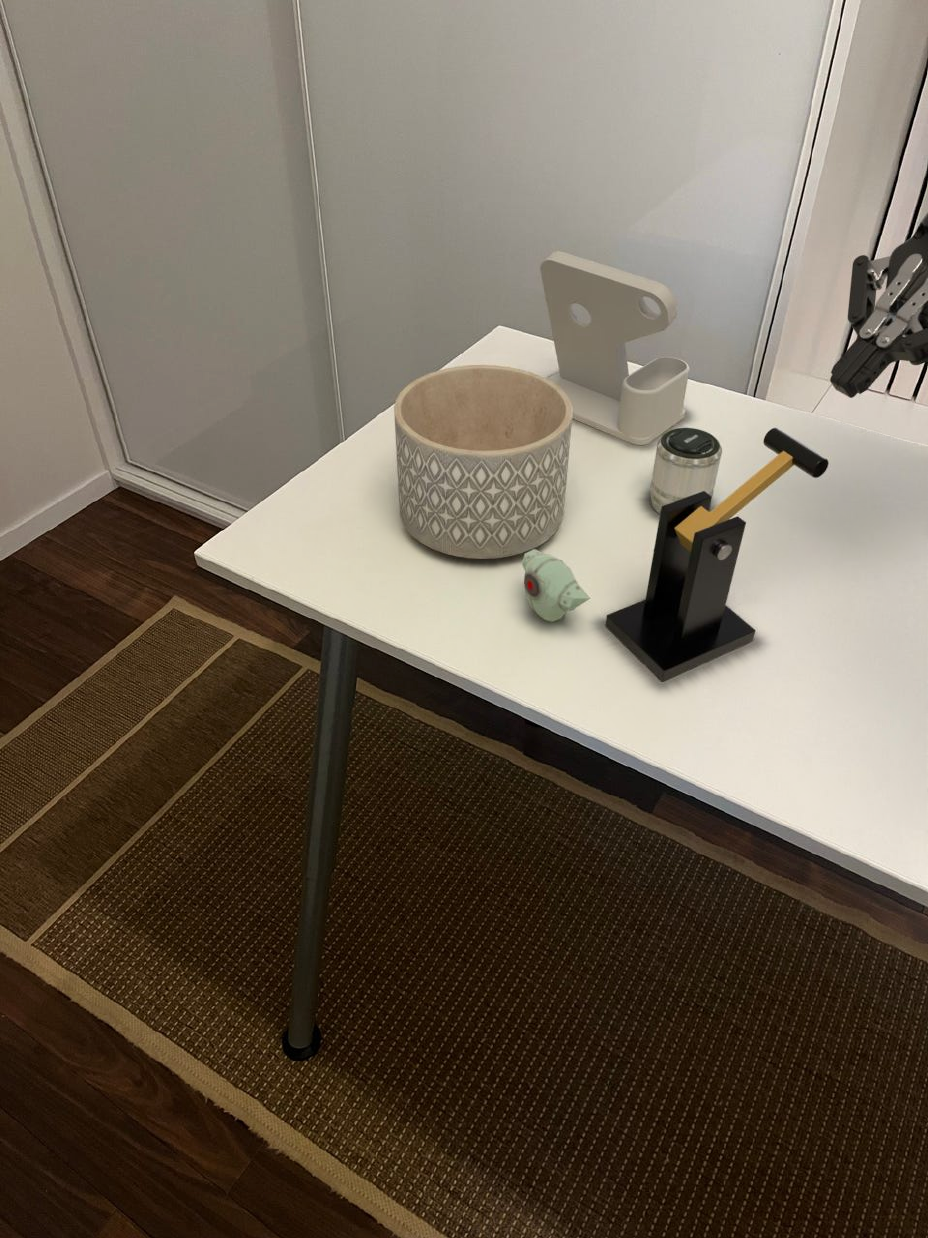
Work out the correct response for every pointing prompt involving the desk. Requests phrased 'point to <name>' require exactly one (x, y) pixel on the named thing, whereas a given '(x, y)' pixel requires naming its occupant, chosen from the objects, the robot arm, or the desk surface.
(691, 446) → the camera lens
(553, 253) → the phone holder
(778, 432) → the lever
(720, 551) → the pivoting lever stand
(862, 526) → the desk surface
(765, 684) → the desk surface
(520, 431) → the planter
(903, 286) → the robot arm
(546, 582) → the mint green rounded piece
